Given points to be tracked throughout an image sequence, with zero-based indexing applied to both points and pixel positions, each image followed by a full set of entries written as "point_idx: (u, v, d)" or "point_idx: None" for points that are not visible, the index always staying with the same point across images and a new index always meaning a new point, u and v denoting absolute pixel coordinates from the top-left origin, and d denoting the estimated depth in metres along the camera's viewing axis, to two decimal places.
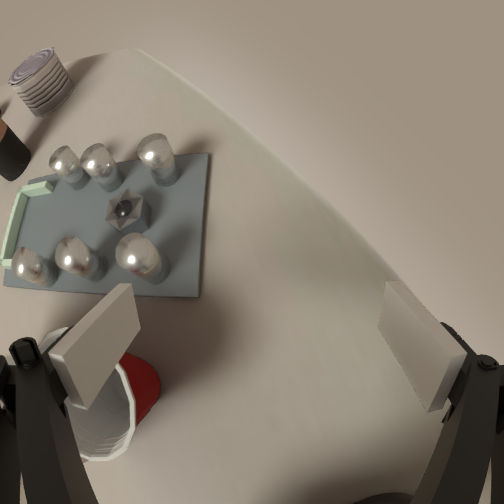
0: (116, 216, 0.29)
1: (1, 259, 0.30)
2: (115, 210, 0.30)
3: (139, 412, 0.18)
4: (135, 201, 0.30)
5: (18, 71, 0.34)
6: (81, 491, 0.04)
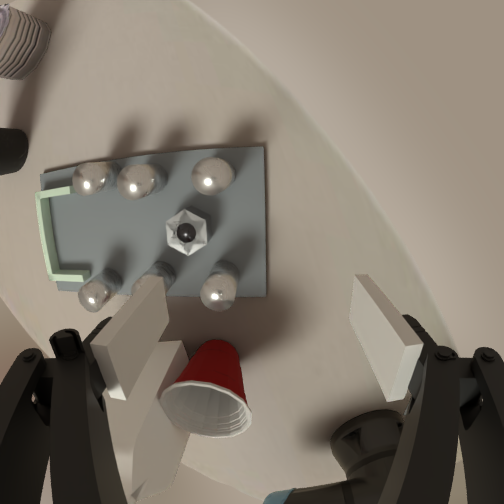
0: (180, 241, 0.31)
1: (50, 274, 0.34)
2: (177, 234, 0.31)
3: None
4: (197, 225, 0.31)
5: None
6: (111, 489, 0.04)
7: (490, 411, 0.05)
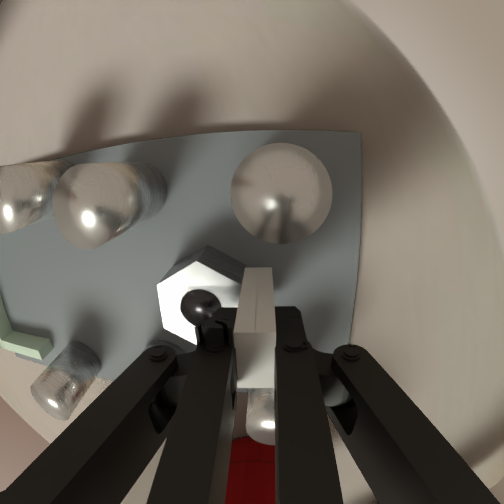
0: (188, 323, 0.15)
1: None
2: (181, 311, 0.15)
3: None
4: (225, 295, 0.14)
5: None
6: (217, 497, 0.05)
7: (369, 417, 0.06)
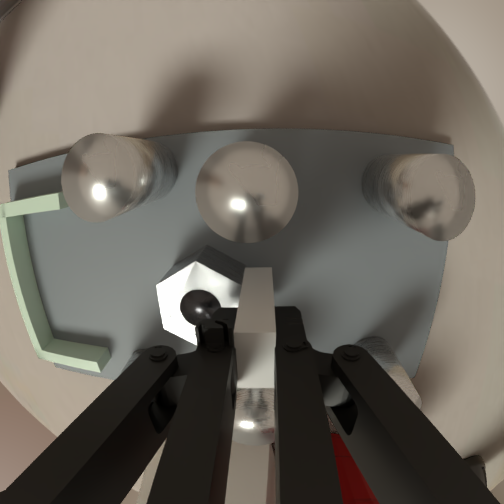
0: (188, 323, 0.15)
1: (38, 350, 0.18)
2: (181, 311, 0.15)
3: None
4: (225, 295, 0.14)
5: None
6: (217, 497, 0.05)
7: (369, 417, 0.06)
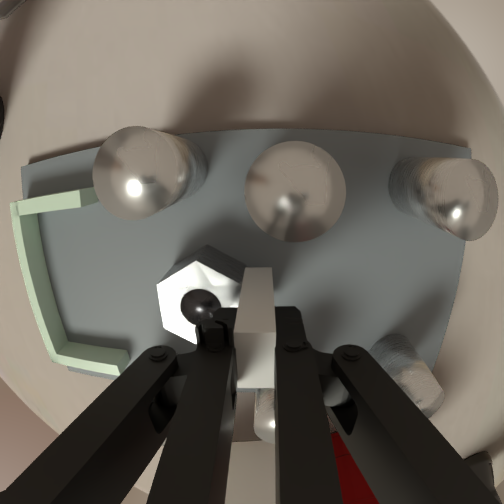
0: (188, 323, 0.15)
1: (52, 353, 0.18)
2: (181, 311, 0.15)
3: None
4: (225, 295, 0.14)
5: None
6: (217, 497, 0.05)
7: (369, 417, 0.06)
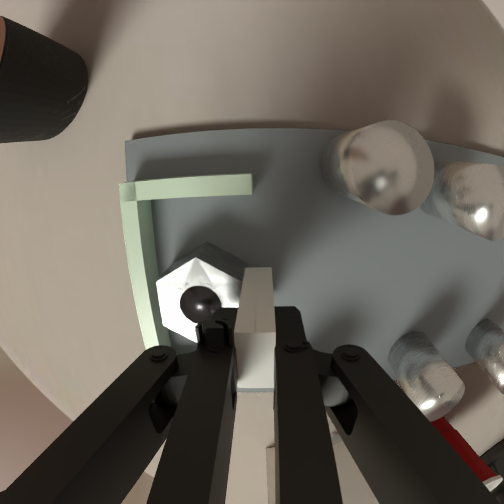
0: (188, 320, 0.15)
1: None
2: (181, 308, 0.15)
3: None
4: (225, 292, 0.14)
5: None
6: (217, 497, 0.05)
7: (368, 417, 0.06)
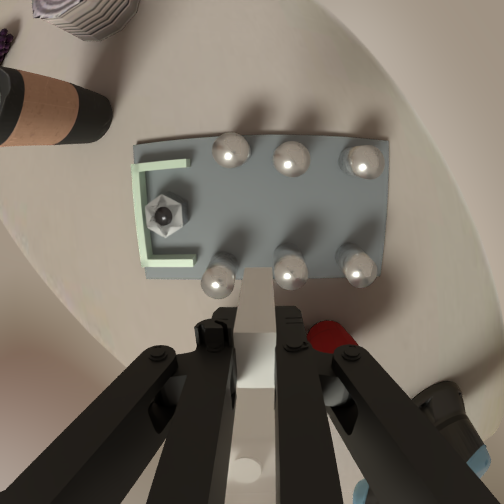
0: (158, 224, 0.33)
1: (144, 260, 0.35)
2: (155, 218, 0.32)
3: None
4: (173, 209, 0.32)
5: None
6: (217, 498, 0.05)
7: (369, 417, 0.06)
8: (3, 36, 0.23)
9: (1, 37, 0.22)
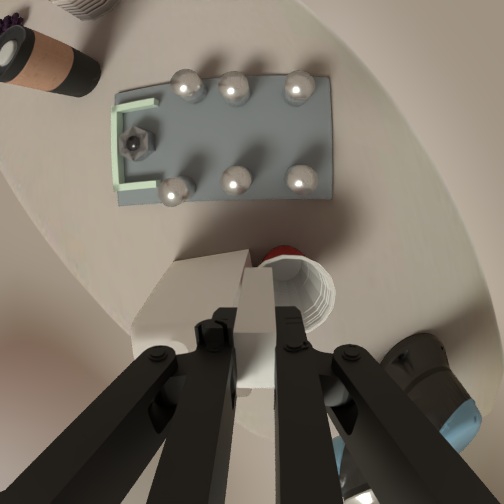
0: (128, 150, 0.36)
1: (116, 185, 0.38)
2: (126, 145, 0.35)
3: None
4: (141, 136, 0.35)
5: None
6: (217, 498, 0.05)
7: (369, 417, 0.06)
8: (15, 18, 0.26)
9: (13, 19, 0.26)
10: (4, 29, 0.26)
